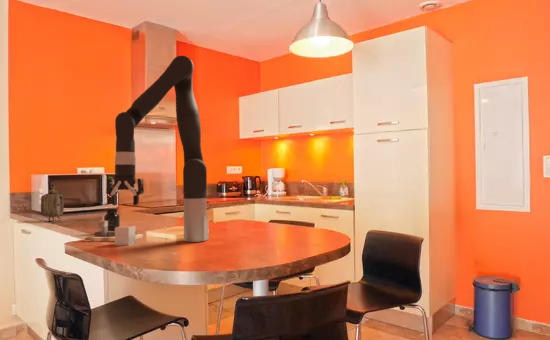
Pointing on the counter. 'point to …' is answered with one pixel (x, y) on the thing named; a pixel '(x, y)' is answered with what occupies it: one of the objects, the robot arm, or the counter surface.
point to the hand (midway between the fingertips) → (125, 205)
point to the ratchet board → (109, 238)
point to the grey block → (125, 235)
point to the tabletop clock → (52, 203)
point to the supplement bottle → (112, 218)
